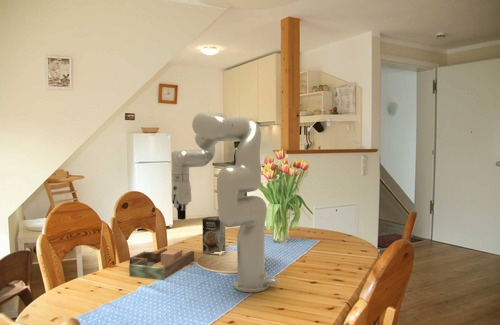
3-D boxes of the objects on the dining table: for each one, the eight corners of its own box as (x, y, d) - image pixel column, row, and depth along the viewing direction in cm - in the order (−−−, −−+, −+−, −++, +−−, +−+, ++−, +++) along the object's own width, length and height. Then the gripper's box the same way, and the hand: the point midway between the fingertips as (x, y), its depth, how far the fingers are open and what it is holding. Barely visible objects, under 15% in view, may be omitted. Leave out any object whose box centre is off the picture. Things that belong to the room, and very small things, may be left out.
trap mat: (155, 263, 157) (155, 262, 157) (147, 267, 151) (147, 267, 151) (145, 262, 158) (145, 261, 158) (136, 266, 153) (136, 265, 153)
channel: (194, 260, 160) (194, 251, 160) (163, 279, 137) (162, 268, 137) (153, 256, 167) (152, 247, 167) (116, 274, 144) (116, 263, 144)
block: (182, 261, 160) (182, 249, 159) (173, 266, 152) (173, 254, 152) (170, 260, 161) (169, 248, 161) (161, 265, 154) (160, 253, 154)
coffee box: (202, 253, 170) (201, 218, 169) (209, 250, 176) (208, 216, 175) (220, 255, 166) (219, 220, 166) (226, 251, 172) (225, 217, 172)
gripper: (179, 179, 156) (180, 223, 156) (196, 176, 170) (197, 216, 171) (164, 179, 158) (165, 222, 159) (181, 176, 172) (182, 215, 173)
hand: (181, 219), depth 165 cm, fingers closed
